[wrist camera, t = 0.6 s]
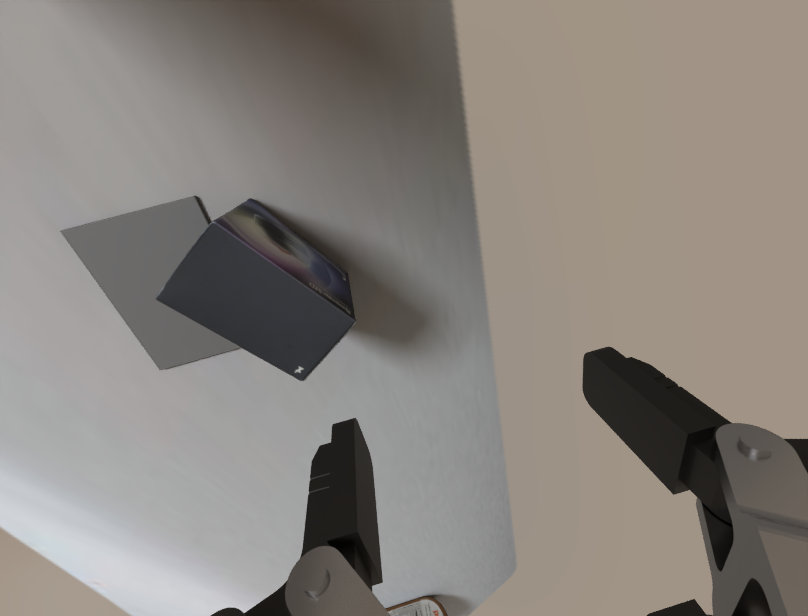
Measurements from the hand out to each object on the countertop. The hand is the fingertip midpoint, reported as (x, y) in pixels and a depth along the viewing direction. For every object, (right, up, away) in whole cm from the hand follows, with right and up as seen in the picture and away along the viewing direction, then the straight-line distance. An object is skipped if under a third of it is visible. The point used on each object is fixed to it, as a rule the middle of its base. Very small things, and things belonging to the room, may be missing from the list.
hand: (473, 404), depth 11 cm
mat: (-22, +5, +19) cm, 30 cm away
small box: (-13, +7, +19) cm, 25 cm away
